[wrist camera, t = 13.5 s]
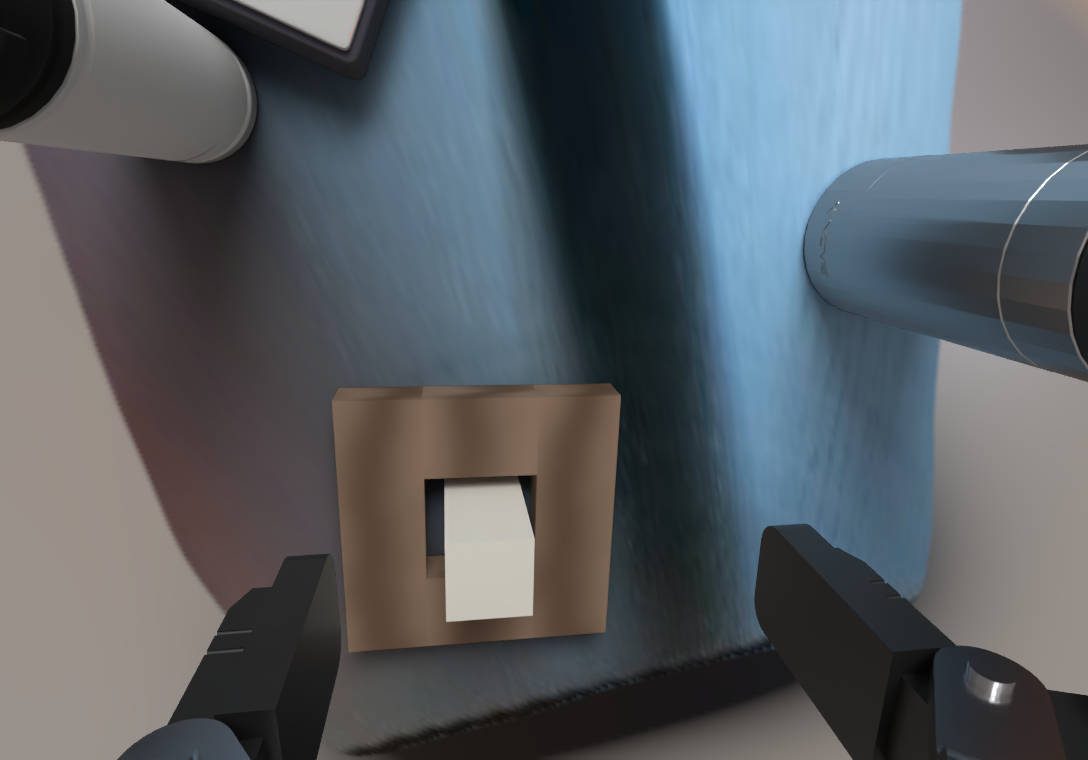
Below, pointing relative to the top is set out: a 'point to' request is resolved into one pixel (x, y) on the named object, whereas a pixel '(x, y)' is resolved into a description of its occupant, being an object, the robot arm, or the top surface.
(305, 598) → the robot arm
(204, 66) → the travel mug
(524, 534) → the peg
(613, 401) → the socket base
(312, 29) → the calculator
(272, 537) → the top surface
